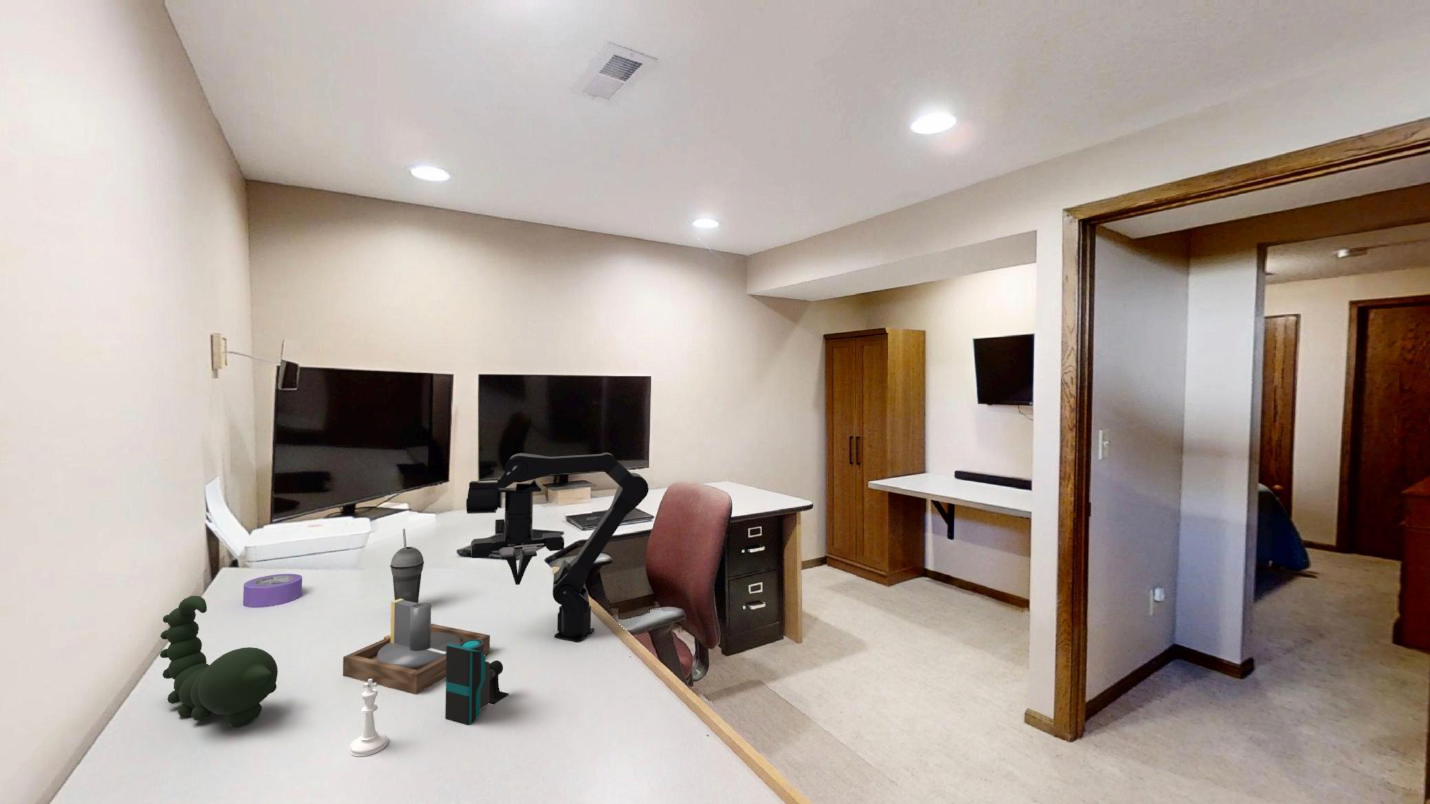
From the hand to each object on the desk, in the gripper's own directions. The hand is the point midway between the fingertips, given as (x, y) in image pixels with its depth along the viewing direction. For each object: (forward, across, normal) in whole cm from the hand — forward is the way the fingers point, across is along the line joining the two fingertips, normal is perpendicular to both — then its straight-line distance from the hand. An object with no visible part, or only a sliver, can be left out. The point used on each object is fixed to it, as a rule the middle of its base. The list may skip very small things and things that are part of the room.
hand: (517, 584), depth 122 cm
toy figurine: (+12, +47, +11) cm, 50 cm away
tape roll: (+12, +54, -49) cm, 74 cm away
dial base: (+12, +18, +4) cm, 22 cm away
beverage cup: (+12, +23, -27) cm, 37 cm away
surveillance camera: (+12, +8, +25) cm, 29 cm away
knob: (+10, +18, +4) cm, 21 cm away
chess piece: (+12, +24, +31) cm, 41 cm away
